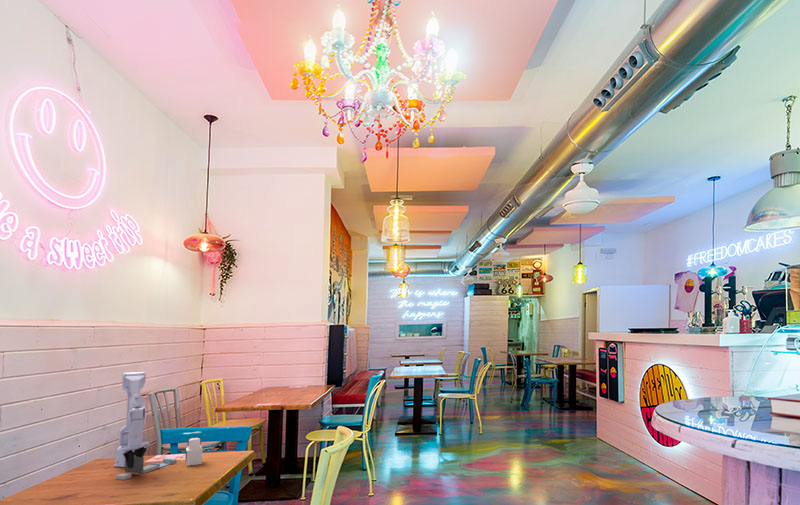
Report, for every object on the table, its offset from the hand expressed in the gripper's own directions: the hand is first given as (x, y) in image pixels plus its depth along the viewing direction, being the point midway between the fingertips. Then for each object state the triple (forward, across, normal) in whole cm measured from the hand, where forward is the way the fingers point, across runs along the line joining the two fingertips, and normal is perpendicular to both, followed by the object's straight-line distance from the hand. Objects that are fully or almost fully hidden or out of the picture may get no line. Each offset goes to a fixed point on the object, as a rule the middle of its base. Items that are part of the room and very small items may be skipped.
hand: (133, 466), depth 224 cm
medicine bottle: (+4, +23, -13) cm, 27 cm away
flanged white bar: (+4, +8, 0) cm, 9 cm away
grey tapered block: (+2, 0, 0) cm, 2 cm away
